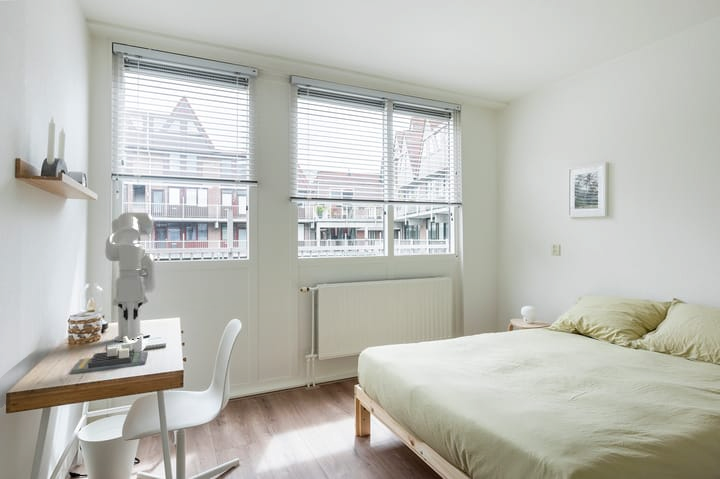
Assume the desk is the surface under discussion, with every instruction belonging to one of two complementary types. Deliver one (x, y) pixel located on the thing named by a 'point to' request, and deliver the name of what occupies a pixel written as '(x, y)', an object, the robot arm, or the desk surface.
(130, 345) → the block
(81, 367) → the breaker panel
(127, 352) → the breaker handle
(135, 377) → the desk surface
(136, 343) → the bracket
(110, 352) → the handle
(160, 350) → the desk surface
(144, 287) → the robot arm
